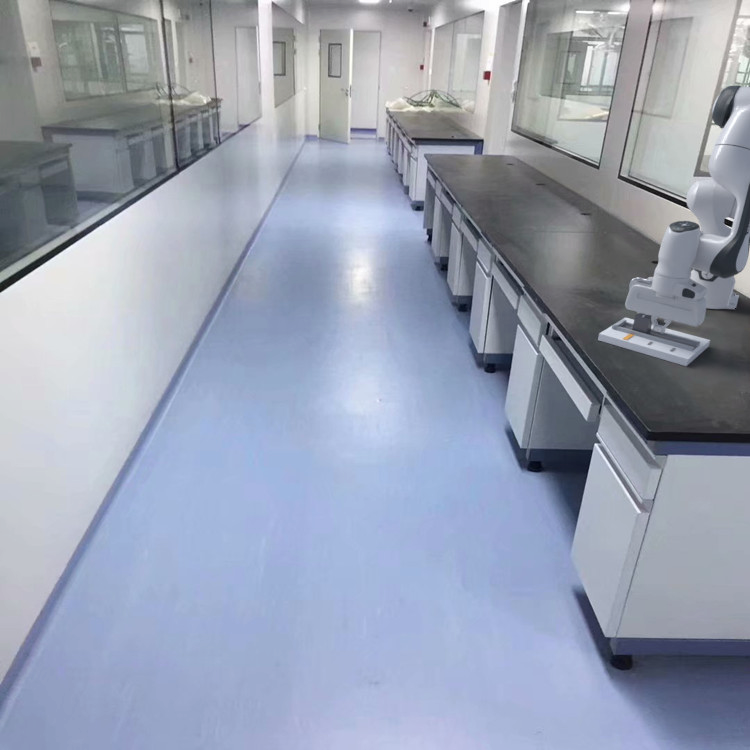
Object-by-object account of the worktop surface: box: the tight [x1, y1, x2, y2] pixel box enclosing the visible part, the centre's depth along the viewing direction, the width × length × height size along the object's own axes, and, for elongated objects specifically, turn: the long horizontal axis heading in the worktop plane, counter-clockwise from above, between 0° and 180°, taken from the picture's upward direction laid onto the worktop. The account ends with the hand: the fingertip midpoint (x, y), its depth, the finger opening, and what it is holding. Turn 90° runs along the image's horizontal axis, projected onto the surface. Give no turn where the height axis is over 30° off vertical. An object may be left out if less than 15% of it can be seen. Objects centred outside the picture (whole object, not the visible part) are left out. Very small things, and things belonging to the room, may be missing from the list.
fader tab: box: [632, 313, 653, 334], centre depth 174 cm, size 3×4×5 cm
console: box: [597, 317, 711, 367], centre depth 173 cm, size 18×24×4 cm
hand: (658, 332), depth 171 cm, fingers closed
